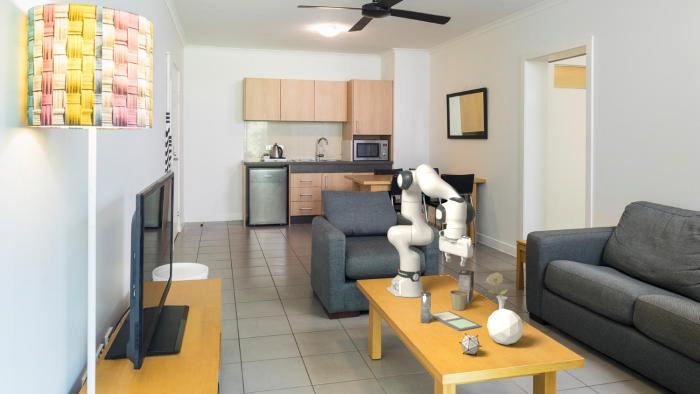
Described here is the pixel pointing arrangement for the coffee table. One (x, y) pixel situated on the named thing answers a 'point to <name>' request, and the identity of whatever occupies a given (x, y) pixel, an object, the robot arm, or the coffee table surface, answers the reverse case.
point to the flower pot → (458, 299)
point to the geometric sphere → (505, 326)
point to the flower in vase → (495, 280)
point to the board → (455, 321)
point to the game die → (470, 344)
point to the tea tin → (425, 307)
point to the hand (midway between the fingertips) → (455, 264)
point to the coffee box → (466, 283)
